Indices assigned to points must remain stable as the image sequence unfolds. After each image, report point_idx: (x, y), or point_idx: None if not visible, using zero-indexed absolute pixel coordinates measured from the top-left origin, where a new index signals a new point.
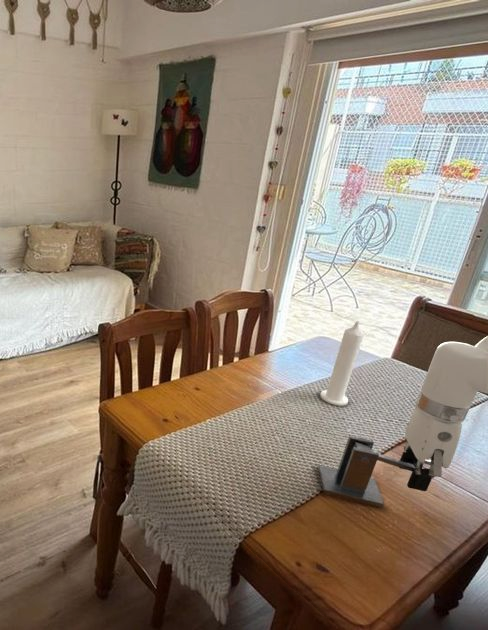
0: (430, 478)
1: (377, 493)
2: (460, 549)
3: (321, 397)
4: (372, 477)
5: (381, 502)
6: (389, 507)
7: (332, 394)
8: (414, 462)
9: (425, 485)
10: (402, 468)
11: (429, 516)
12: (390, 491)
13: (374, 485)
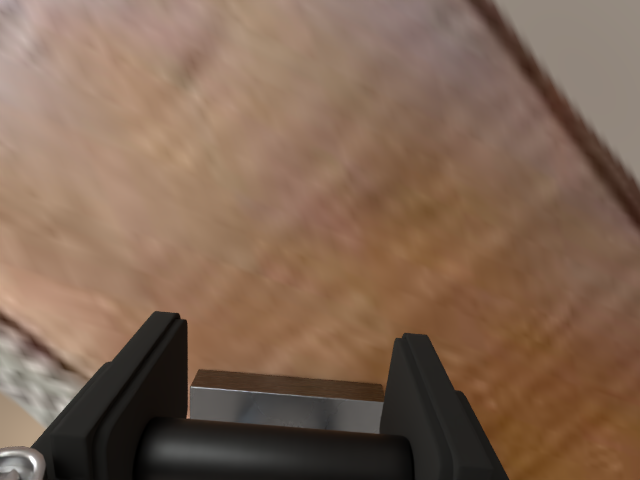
0: (476, 448)
1: (314, 407)
2: (587, 131)
3: None
4: (190, 392)
5: (377, 411)
6: (365, 351)
7: None
8: (195, 472)
9: (473, 418)
10: (186, 403)
11: (382, 186)
12: (243, 308)
13: (255, 402)
